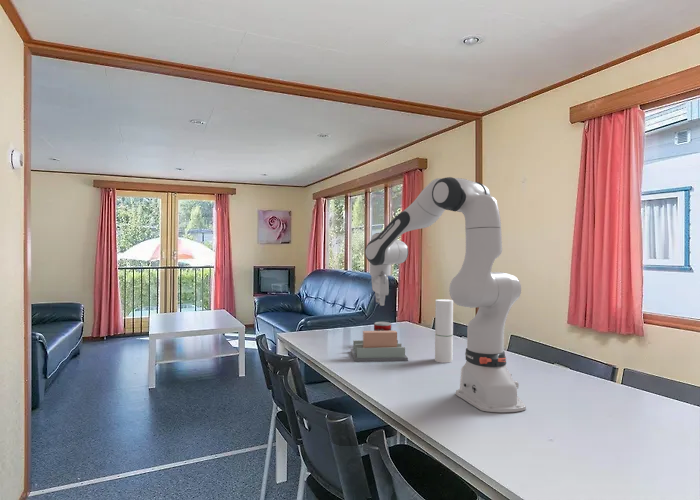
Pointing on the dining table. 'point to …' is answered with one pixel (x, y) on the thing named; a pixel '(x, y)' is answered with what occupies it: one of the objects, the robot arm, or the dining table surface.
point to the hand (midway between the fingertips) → (380, 303)
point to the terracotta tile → (379, 339)
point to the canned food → (382, 326)
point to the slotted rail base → (377, 353)
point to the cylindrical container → (444, 331)
